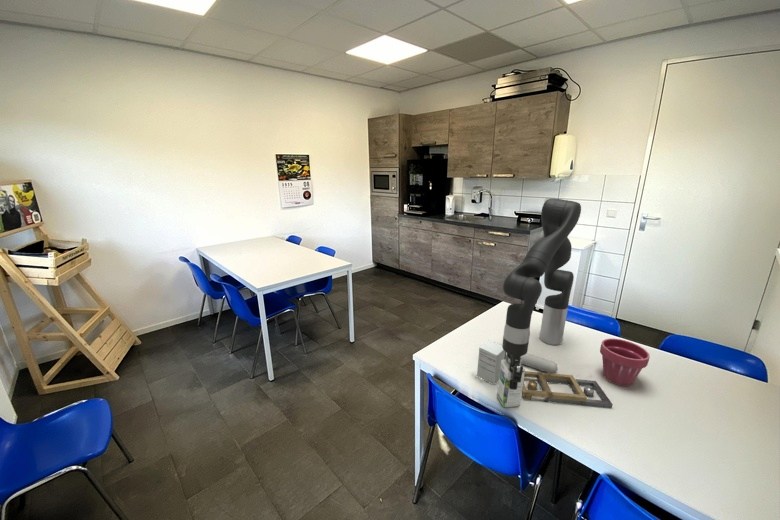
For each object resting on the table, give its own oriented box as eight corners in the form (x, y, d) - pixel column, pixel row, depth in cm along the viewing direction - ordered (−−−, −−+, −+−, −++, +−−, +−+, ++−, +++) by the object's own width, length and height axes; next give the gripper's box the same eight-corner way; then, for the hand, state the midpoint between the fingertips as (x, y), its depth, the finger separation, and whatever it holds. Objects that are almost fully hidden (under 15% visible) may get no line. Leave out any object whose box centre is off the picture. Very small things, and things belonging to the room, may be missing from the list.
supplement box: (486, 368, 125) (488, 339, 121) (503, 376, 120) (507, 347, 116) (475, 376, 120) (478, 346, 116) (494, 385, 115) (497, 355, 111)
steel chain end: (536, 379, 118) (537, 373, 118) (594, 384, 115) (596, 378, 115) (547, 401, 107) (548, 395, 106) (611, 408, 104) (613, 401, 103)
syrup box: (496, 395, 110) (500, 359, 105) (512, 394, 110) (517, 358, 106) (503, 407, 104) (507, 369, 100) (520, 406, 105) (525, 368, 100)
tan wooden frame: (514, 377, 119) (515, 370, 119) (571, 382, 117) (572, 375, 116) (522, 399, 108) (523, 391, 107) (585, 405, 105) (587, 398, 104)
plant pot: (644, 377, 119) (652, 347, 115) (639, 397, 109) (647, 364, 105) (599, 362, 128) (605, 334, 125) (591, 378, 118) (597, 348, 115)
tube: (559, 361, 123) (495, 340, 137) (558, 363, 118) (491, 342, 132) (556, 374, 123) (492, 352, 137) (555, 377, 119) (489, 354, 133)
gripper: (535, 350, 93) (528, 398, 97) (523, 326, 106) (517, 369, 111) (508, 348, 94) (502, 395, 99) (499, 324, 107) (495, 367, 112)
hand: (510, 381), depth 105 cm, fingers closed on syrup box, 6 cm apart
